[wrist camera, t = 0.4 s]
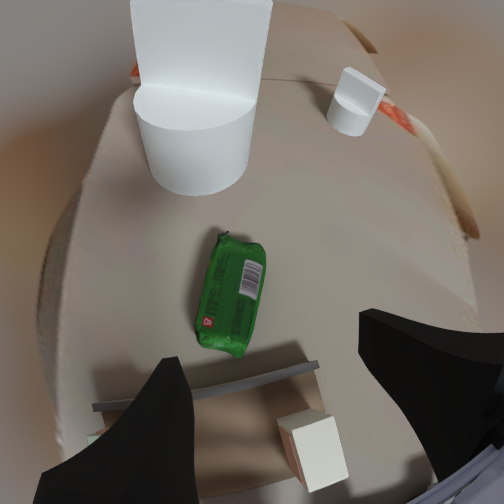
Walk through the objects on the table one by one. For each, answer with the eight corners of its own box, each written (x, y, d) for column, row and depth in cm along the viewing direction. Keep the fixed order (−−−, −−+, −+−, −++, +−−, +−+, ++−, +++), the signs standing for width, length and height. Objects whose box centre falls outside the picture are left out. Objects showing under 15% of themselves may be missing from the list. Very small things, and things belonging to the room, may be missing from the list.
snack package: (267, 251, 42) (273, 234, 37) (246, 361, 35) (249, 359, 30) (218, 240, 42) (218, 222, 37) (191, 348, 35) (186, 344, 30)
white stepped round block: (173, 116, 51) (163, -16, 25) (258, 133, 51) (284, -7, 25) (131, 183, 44) (84, 28, 18) (232, 208, 44) (250, 30, 18)
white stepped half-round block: (318, 118, 55) (334, 73, 44) (338, 104, 58) (354, 63, 47) (354, 142, 53) (376, 98, 42) (371, 126, 56) (392, 86, 45)
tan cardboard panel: (335, 459, 30) (345, 465, 27) (133, 499, 25) (126, 509, 22) (308, 360, 36) (317, 359, 33) (102, 400, 30) (91, 402, 27)
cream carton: (310, 408, 32) (333, 415, 25) (324, 459, 29) (348, 477, 22) (274, 419, 31) (289, 431, 24) (289, 471, 28) (306, 493, 21)
